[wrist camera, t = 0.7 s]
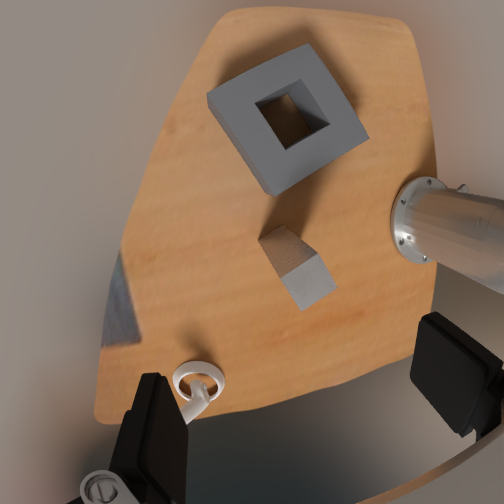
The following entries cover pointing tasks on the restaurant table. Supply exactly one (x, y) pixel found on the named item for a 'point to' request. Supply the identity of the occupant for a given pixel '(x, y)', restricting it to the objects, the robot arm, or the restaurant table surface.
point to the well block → (309, 105)
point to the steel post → (297, 266)
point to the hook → (197, 387)
